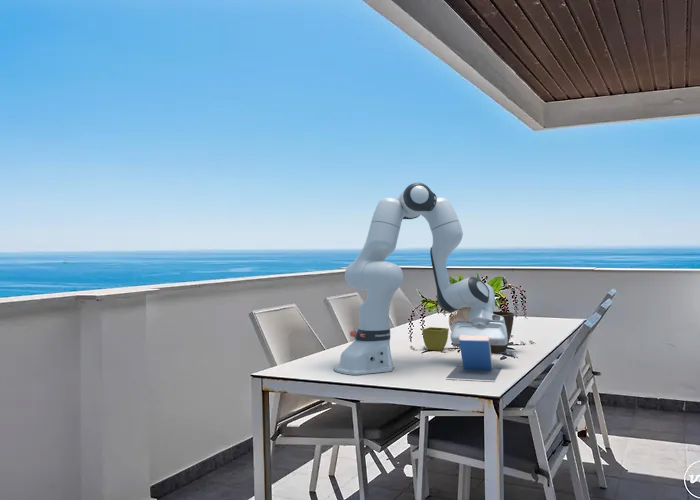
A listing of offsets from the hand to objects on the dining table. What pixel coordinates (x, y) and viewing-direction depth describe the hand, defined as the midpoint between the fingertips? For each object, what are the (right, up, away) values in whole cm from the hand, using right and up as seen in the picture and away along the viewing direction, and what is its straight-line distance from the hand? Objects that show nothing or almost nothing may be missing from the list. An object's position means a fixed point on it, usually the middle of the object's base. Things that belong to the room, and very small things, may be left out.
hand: (477, 352), depth 230 cm
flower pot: (-9, -6, +46) cm, 48 cm away
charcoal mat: (-2, -6, -7) cm, 10 cm away
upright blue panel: (0, -5, 0) cm, 5 cm away
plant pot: (+15, -6, +39) cm, 42 cm away
